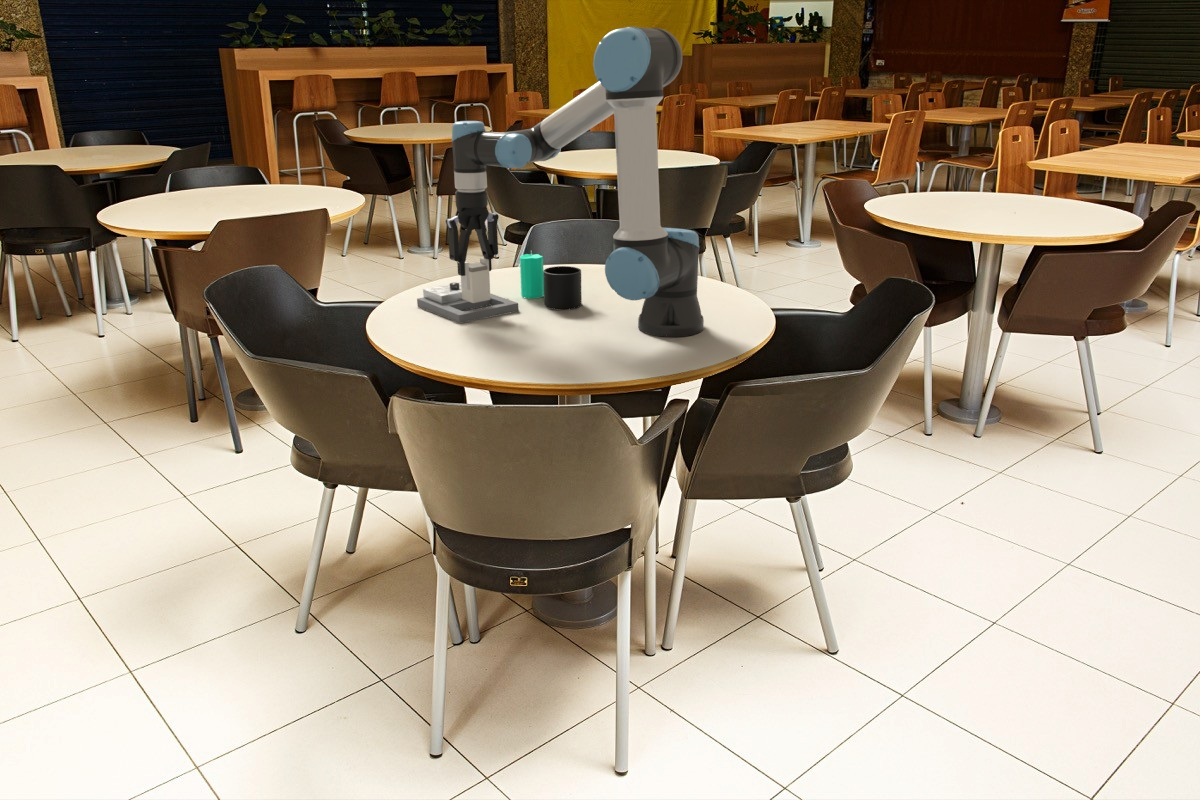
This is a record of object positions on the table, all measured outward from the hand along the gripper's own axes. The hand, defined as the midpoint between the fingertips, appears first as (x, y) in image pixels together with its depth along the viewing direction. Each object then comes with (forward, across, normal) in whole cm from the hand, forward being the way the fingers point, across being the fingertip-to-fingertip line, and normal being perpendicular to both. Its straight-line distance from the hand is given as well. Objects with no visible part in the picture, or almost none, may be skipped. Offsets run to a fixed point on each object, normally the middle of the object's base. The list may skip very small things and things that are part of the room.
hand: (475, 286), depth 226 cm
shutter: (+5, 0, -10) cm, 11 cm away
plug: (+3, 0, 0) cm, 3 cm away
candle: (+7, -20, -4) cm, 22 cm away
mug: (+7, -21, +8) cm, 23 cm away
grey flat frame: (+7, 0, -4) cm, 8 cm away
